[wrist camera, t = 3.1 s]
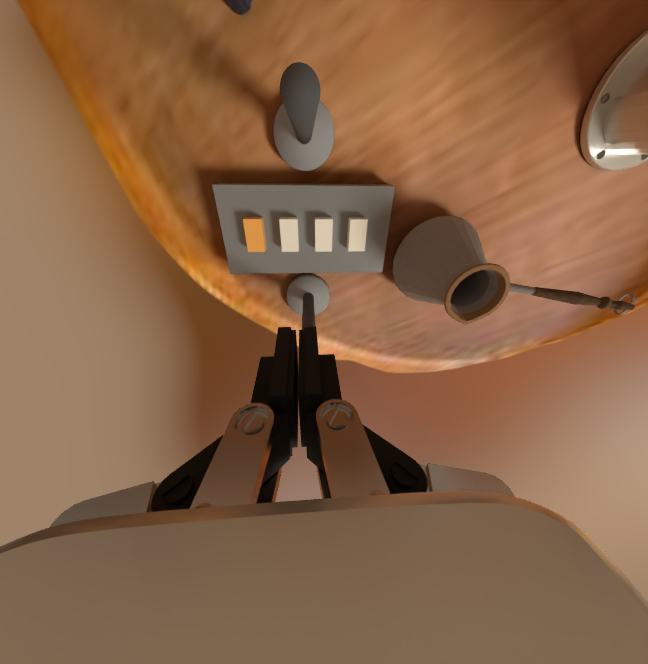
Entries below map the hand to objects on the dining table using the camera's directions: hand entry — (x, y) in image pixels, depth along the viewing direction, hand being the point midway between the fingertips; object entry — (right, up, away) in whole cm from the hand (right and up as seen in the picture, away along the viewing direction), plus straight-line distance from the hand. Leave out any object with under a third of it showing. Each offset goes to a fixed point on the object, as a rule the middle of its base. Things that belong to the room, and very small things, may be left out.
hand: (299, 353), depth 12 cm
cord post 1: (-1, +22, +16) cm, 28 cm away
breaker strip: (-1, +15, +21) cm, 26 cm away
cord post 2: (-1, +7, +27) cm, 28 cm away
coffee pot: (+21, +12, +25) cm, 35 cm away
